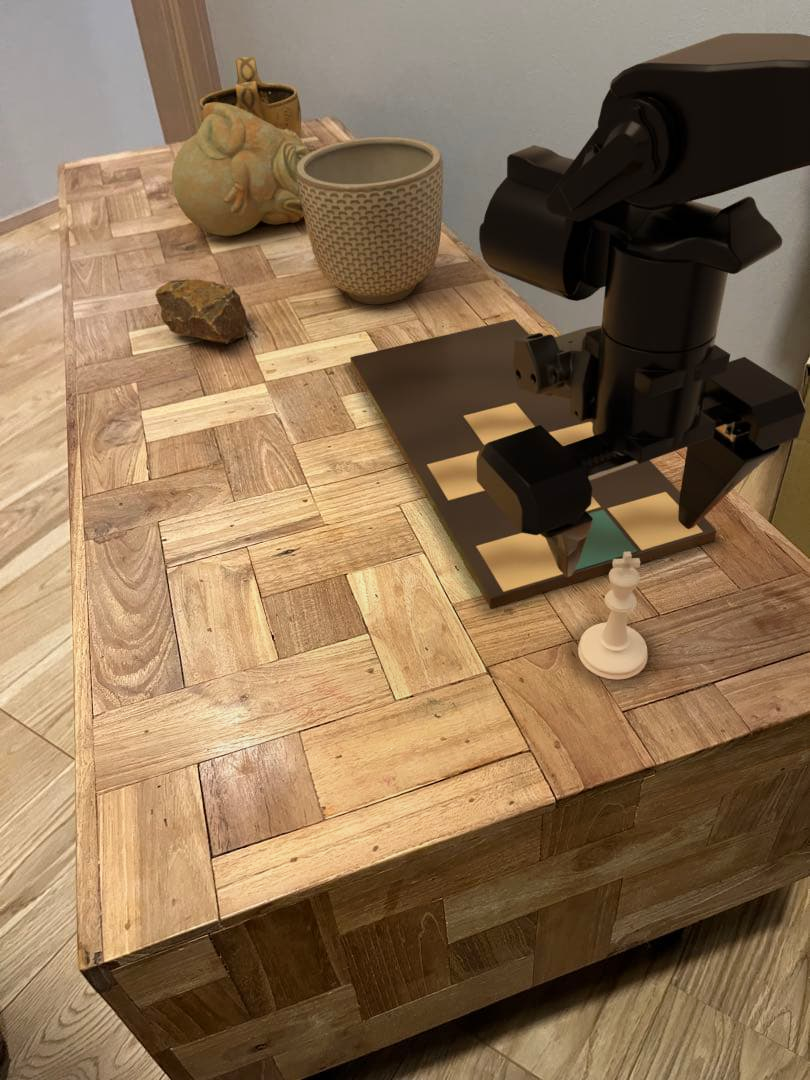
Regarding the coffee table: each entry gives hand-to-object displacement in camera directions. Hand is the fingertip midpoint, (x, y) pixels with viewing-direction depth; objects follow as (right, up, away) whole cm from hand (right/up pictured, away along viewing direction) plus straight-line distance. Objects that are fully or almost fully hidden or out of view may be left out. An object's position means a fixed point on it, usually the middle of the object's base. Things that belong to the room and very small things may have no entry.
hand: (626, 547), depth 53 cm
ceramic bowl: (-40, +68, +94) cm, 123 cm away
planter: (-17, +33, +54) cm, 65 cm away
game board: (-4, +10, +28) cm, 30 cm away
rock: (-38, +25, +48) cm, 66 cm away
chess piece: (+1, -8, +8) cm, 11 cm away
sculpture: (-37, +48, +72) cm, 94 cm away
